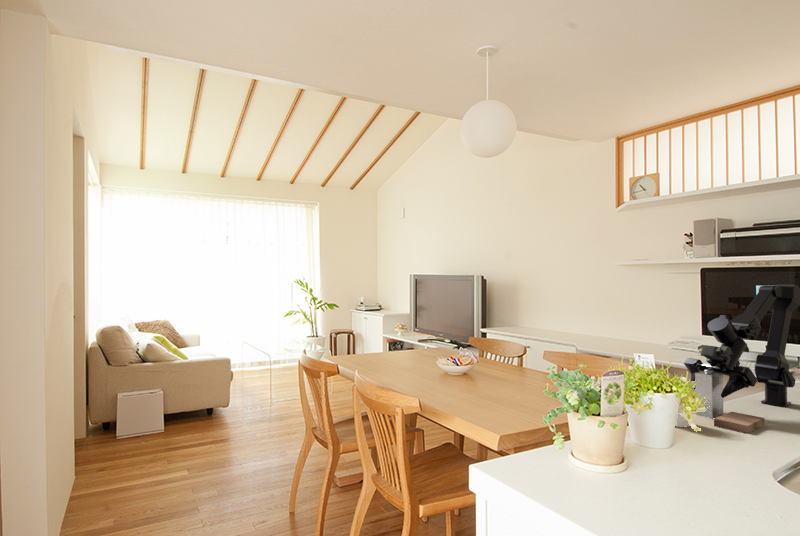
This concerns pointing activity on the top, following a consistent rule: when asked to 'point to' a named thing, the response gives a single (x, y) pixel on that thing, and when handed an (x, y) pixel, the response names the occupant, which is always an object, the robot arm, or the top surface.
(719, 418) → the plinth
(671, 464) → the top surface
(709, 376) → the housing
